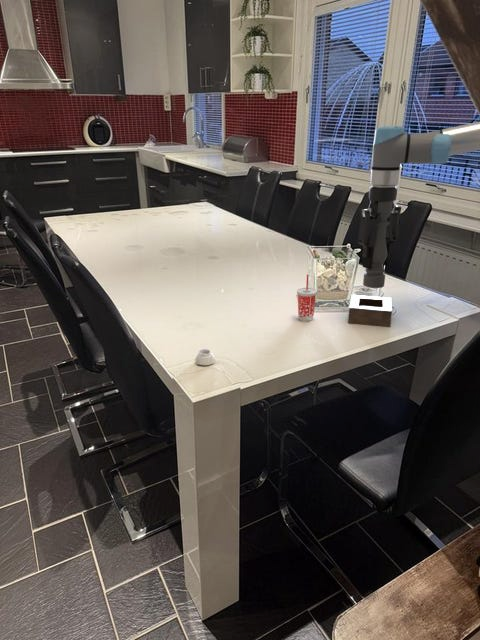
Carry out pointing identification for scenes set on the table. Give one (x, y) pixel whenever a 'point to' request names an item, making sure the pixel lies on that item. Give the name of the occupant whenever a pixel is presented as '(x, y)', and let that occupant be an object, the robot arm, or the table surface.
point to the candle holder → (378, 249)
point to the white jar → (205, 357)
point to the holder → (370, 310)
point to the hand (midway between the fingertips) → (375, 266)
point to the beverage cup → (306, 302)
